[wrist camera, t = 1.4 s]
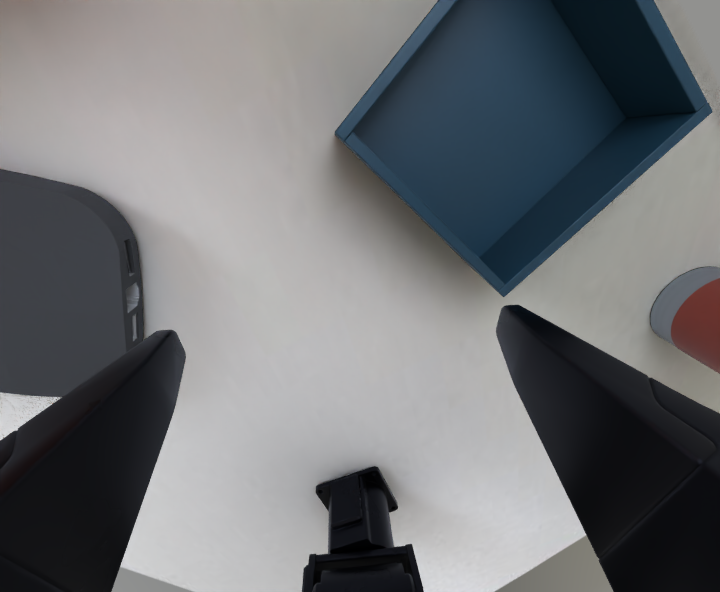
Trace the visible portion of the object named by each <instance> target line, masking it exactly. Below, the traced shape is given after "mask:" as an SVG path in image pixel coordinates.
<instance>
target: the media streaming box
mask: <svg viewBox="0 0 720 592" xmlns="http://www.w3.org/2000/svg"><path fill="white" fill-rule="evenodd" d="M142 341H143V309H142V290H141V277H140V267H139V257H138V249H137V242H136V239H135V236H134V234H133V232H132V230H131V228H130V226H129V225H128V223H127V222H126V220H125V219H124V218H123V216H122V215H121V214H120V213H119V212H118V211H117V210H116V209H115V208H114V207H113V206H112V205H111V204H110V203H108V202H107V201H106V200H104V199H103V198H102V197H100V196H98V195H97V194H95V193H93V192H91V191H89V190H87V189H84V188H82V187H78V186H74V185H70V184H66V183H61V182H57V181H53V180H48V179H44V178H40V177H35V176H30V175H26V174H21V173H16V172H11V171H6V170H1V169H0V392H2V393H10V394H20V395H31V396H48V397H63V396H65V395H66V394H68V393H69V392H71V391H72V390H73V389H75V388H76V387H78V386H79V385H81V384H82V383H83V382H85V381H86V380H88V379H89V378H91V377H92V376H93V375H95V374H96V373H98V372H99V371H101V370H102V369H103V368H105V367H106V366H108V365H109V364H111V363H112V362H113V361H115V360H116V359H118V358H119V357H121V356H122V355H123V354H125V353H126V352H128V351H129V350H131V349H132V348H133V347H135V346H136V345H138V344H139V343H140V342H142Z"/></svg>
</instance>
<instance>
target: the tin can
mask: <svg viewBox="0 0 720 592" xmlns="http://www.w3.org/2000/svg"><path fill="white" fill-rule="evenodd" d="M650 321H651V326H652V329H653V331H654V332H655V333H656V334H657V335H658V336H659V337H661V338H663V339H664V340H666V341H668V342H669V343H671V344H673V345H674V346H676V347H677V348H678V349H680V350H681V351H683V352H685V353H686V354H688V355H689V356H691V357H693V358H694V359H696V360H698V361H699V362H701V363H703V364H704V365H706V366H708V367H709V368H711V369H713V370H714V371H716V372H718V373H719V374H720V268H718V267H702V268H697V269H694V270H691V271H689V272H687V273H685V274H683V275H681V276H679V277H678V278H676V279H675V280H674V281H672V282H671V283H670V284H669V285H668V286H667V287H666V288H665V289H664V290H663V291H662V292H661V293H660V295H659V296H658V298H657V299H656V301H655V303H654V305H653V308H652V311H651V316H650Z"/></svg>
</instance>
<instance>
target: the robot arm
mask: <svg viewBox="0 0 720 592" xmlns="http://www.w3.org/2000/svg"><path fill="white" fill-rule="evenodd" d="M496 334H497V338H498V341H499V344H500V346H501V349H502V352H503V355H504V358H505V361H506V364H507V367H508V369H509V372H510V375H511V378H512V380H513V383H514V385H515V387H516V390H517V392H518V394H519V396H520V398H521V400H522V402H523V404H524V406H525V408H526V410H527V412H528V415H529V417H530V419H531V421H532V423H533V425H534V427H535V429H536V431H537V433H538V435H539V437H540V439H541V441H542V444H543V446H544V448H545V450H546V452H547V454H548V456H549V458H550V460H551V462H552V464H553V466H554V468H555V470H556V473H557V475H558V477H559V479H560V481H561V483H562V485H563V487H564V489H565V491H566V493H567V495H568V497H569V500H570V502H571V504H572V506H573V508H574V510H575V512H576V514H577V516H578V518H579V520H580V522H581V524H582V526H583V529H584V531H585V533H586V535H587V537H588V539H589V541H590V543H591V545H592V547H593V549H594V551H595V553H596V555H597V557H598V558H599V562H600V564H601V566H602V568H603V571H604V572H605V574H606V577H607V579H608V581H609V583H610V585H611V587H612V589H613V591H614V592H720V414H719V413H717V412H715V411H713V410H711V409H709V408H707V407H705V406H703V405H701V404H699V403H697V402H695V401H693V400H692V399H690V398H688V397H686V396H684V395H682V394H680V393H678V392H676V391H675V390H673V389H671V388H669V387H667V386H665V385H664V384H662V383H660V382H658V381H656V380H655V379H653V378H648V376H647V375H645V374H643V373H642V372H640V371H638V370H636V369H634V368H633V367H631V366H629V365H627V364H625V363H623V362H622V361H620V360H618V359H616V358H614V357H613V356H611V355H609V354H607V353H605V352H603V351H602V350H600V349H598V348H596V347H594V346H593V345H591V344H589V343H587V342H585V341H583V340H582V339H580V338H578V337H576V336H574V335H573V334H571V333H569V332H567V331H565V330H563V329H562V328H560V327H558V326H556V325H554V324H553V323H551V322H549V321H547V320H545V319H543V318H542V317H540V316H538V315H536V314H534V313H533V312H531V311H529V310H527V309H525V308H523V307H522V306H520V305H507V306H504V307H503V308H502V309H501V313H500V316H499V320H498V324H497V328H496ZM185 359H186V354H185V351H184V348H183V346H182V344H181V342H180V340H179V338H178V335H177V334H176V332H175V331H173V330H161V331H156V332H155V333H153V334H152V335H150V336H149V337H148V338H146V339H145V340H143V341H142V342H140V343H139V344H138V345H136V346H135V347H133V348H132V349H131V350H129V351H128V352H126V353H125V354H123V355H122V356H121V357H119V358H118V359H116V360H115V361H113V362H112V363H111V364H109V365H108V366H106V367H105V368H103V369H102V370H101V371H99V372H98V373H96V374H95V375H93V376H92V377H91V378H89V379H88V380H86V381H85V382H83V383H82V384H81V385H79V386H78V387H76V388H75V389H73V390H72V391H71V392H69V393H68V394H66V395H65V396H63V397H62V398H61V399H59V400H58V401H56V402H55V403H53V404H52V405H51V406H49V407H48V408H46V409H45V410H43V411H42V412H41V413H39V414H38V415H36V416H35V417H33V418H32V419H31V420H29V421H28V422H26V423H25V424H24V425H22V426H21V427H19V428H18V431H13V432H12V433H11V434H9V435H8V436H6V437H5V438H3V439H2V440H1V441H0V592H111V591H112V588H113V585H114V582H115V579H116V577H117V574H118V571H119V568H120V565H121V562H122V559H123V557H124V554H125V551H126V548H127V545H128V542H129V539H130V536H131V534H132V531H133V528H134V525H135V522H136V519H137V516H138V513H139V511H140V508H141V505H142V502H143V499H144V496H145V493H146V490H147V487H148V485H149V482H150V479H151V476H152V473H153V470H154V467H155V464H156V462H157V459H158V456H159V453H160V450H161V447H162V444H163V441H164V439H165V436H166V433H167V430H168V427H169V424H170V421H171V418H172V415H173V412H174V409H175V405H176V400H177V396H178V391H179V387H180V382H181V378H182V373H183V369H184V364H185ZM316 494H317V495H318V497H319V498H320V500H321V501H322V503H323V504H324V505H325V507H326V508H327V510H328V511H329V534H328V554H322V555H316V554H310V556H309V564H308V565H307V566H306V567H305V568H304V573H303V586H302V592H424V591H423V586H422V582H421V578H420V574H419V571H418V567H417V563H416V559H415V555H414V551H413V547H412V544H407V545H405V546H400V547H394V544H393V537H392V530H391V523H390V517H389V512H392V511H395V510H397V509H398V505H397V502H396V500H395V498H394V496H393V494H392V492H391V491H390V489H389V487H388V485H387V483H386V481H385V479H384V478H383V476H382V474H381V472H380V470H379V468H378V467H371V468H368V469H365V470H362V471H359V472H356V473H353V474H350V475H347V476H344V477H341V478H338V479H335V480H332V481H329V482H326V483H323V484H320V485H317V486H316Z"/></svg>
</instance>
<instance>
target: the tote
mask: <svg viewBox="0 0 720 592" xmlns="http://www.w3.org/2000/svg"><path fill="white" fill-rule="evenodd" d="M711 113H712V109H711V107H710V105H709V103H707V100H706V98H705V97H704V95H703V93H702V91H701V89H700V87H699V85H698V83H697V81H696V80H695V78H694V76H693V74H692V72H691V70H690V68H689V66H688V64H687V62H686V61H685V59H684V57H683V55H682V53H681V51H680V49H679V47H678V45H677V44H676V42H675V40H674V38H673V36H672V34H671V32H670V30H669V28H668V27H667V25H666V23H665V21H664V19H663V17H662V15H661V13H660V11H659V10H658V8H657V6H656V4H655V2H654V0H438V2H437V3H436V4H435V5H434V7H433V8H432V9H431V11H430V12H429V13H428V14H427V16H426V17H425V18H424V19H423V21H422V22H421V23H420V24H419V26H418V27H417V28H416V30H415V31H414V32H413V33H412V35H411V36H410V37H409V38H408V40H407V41H406V42H405V43H404V45H403V46H402V47H401V49H400V50H399V51H398V52H397V54H396V55H395V56H394V57H393V59H392V60H391V61H390V63H389V64H388V65H387V66H386V68H385V69H384V70H383V71H382V73H381V74H380V75H379V76H378V78H377V79H376V80H375V82H374V83H373V84H372V85H371V87H370V88H369V89H368V90H367V92H366V93H365V94H364V95H363V97H362V98H361V99H360V101H359V102H358V103H357V104H356V106H355V107H354V108H353V109H352V111H351V112H350V113H349V115H348V116H347V117H346V118H345V120H344V121H343V122H342V123H341V125H340V126H339V127H338V128H337V130H336V131H335V135H336V136H337V137H338V138H339V139H340V140H341V141H342V142H343V143H344V144H345V145H346V146H347V147H348V148H349V149H350V150H351V151H352V152H353V153H354V154H355V155H356V156H357V157H358V158H359V159H360V160H361V161H362V162H363V163H364V164H365V165H366V166H367V167H369V168H370V169H371V170H372V171H373V172H374V173H375V174H376V175H377V176H378V177H379V178H380V179H381V180H382V181H383V182H384V183H385V184H386V185H387V186H388V187H389V188H390V189H391V190H392V191H393V192H394V193H395V194H396V195H397V196H398V197H399V198H400V199H401V200H403V201H404V202H405V203H406V204H407V205H408V206H409V207H410V208H411V209H412V210H413V211H414V212H415V213H416V214H417V215H418V216H419V217H420V218H421V219H422V220H423V221H424V222H425V223H426V224H427V225H428V226H429V227H430V228H431V229H432V230H433V231H434V232H435V233H436V234H438V235H439V236H440V237H441V238H442V239H443V240H444V241H445V242H446V243H447V244H448V245H449V246H450V247H451V248H452V249H453V250H454V251H455V252H456V253H457V254H458V255H459V256H460V257H461V258H462V259H463V260H464V261H465V262H466V263H467V264H468V265H469V266H470V267H472V268H473V269H474V270H475V271H476V272H477V273H478V274H479V275H480V276H481V277H482V278H483V279H484V280H486V281H487V282H488V283H489V284H490V285H491V286H492V287H493V288H494V289H495V290H496V291H497V292H499V293H500V294H501V295H502V296H503V297H505V296H506V295H507V294H508V293H509V292H510V291H511V290H512V289H514V288H515V287H516V286H517V285H518V284H519V283H520V282H521V281H523V280H524V279H525V278H526V277H527V276H528V275H529V274H530V273H532V272H533V271H534V270H535V269H536V268H537V267H538V266H539V265H541V264H542V263H543V262H544V261H545V260H546V259H547V258H549V257H550V256H551V255H552V254H553V253H554V252H555V251H556V250H558V249H559V248H560V247H561V246H562V245H563V244H564V243H565V242H567V241H568V240H569V239H570V238H571V237H572V236H573V235H574V234H576V233H577V232H578V231H579V230H580V229H581V228H582V227H583V226H585V225H586V224H587V223H588V222H589V221H590V220H591V219H592V218H594V217H595V216H596V215H597V214H598V213H599V212H600V211H601V210H603V209H604V208H605V207H606V206H607V205H608V204H609V203H610V202H612V201H613V200H614V199H615V198H616V197H617V196H618V195H619V194H621V193H622V192H623V191H624V190H625V189H626V188H627V187H628V186H630V185H631V184H632V183H633V182H634V181H635V180H636V179H637V178H639V177H640V176H641V175H642V174H643V173H644V172H645V171H646V170H648V169H649V168H650V167H651V166H652V165H653V164H654V163H655V162H657V161H658V160H659V159H660V158H661V157H662V156H663V155H664V154H666V153H667V152H668V151H669V150H670V149H671V148H672V147H673V146H675V145H676V144H677V143H678V142H679V141H680V140H681V139H682V138H684V137H685V136H686V135H687V134H688V133H689V132H690V131H691V130H693V129H694V128H695V127H696V126H697V125H698V124H699V123H700V122H702V121H703V120H704V119H705V118H706V117H707V116H708V115H709V114H711Z"/></svg>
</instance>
